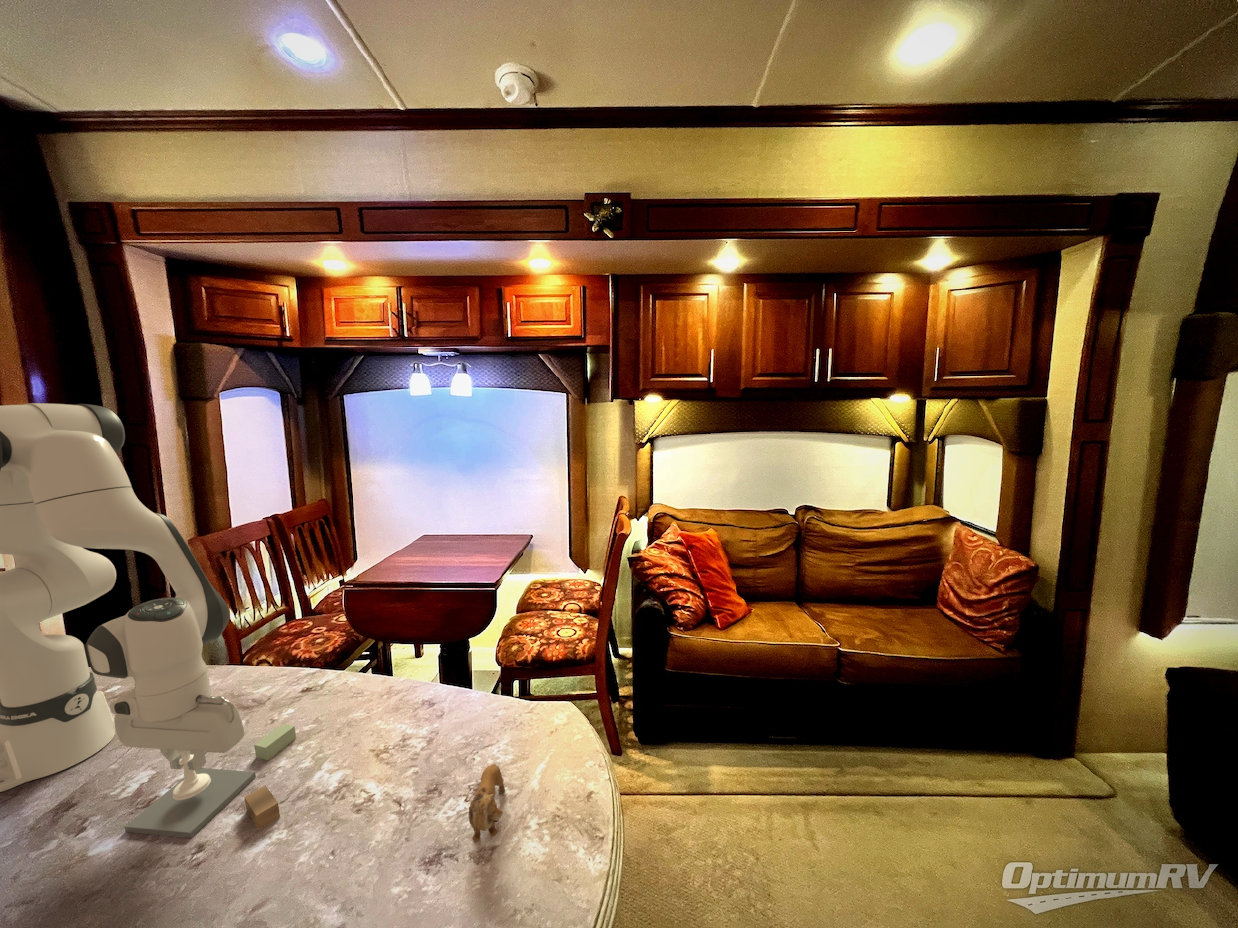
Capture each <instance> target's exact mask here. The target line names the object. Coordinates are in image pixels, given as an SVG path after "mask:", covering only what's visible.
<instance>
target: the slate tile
mask: <svg viewBox="0 0 1238 928" xmlns="http://www.w3.org/2000/svg"><path fill="white" fill-rule="evenodd" d="M195 772H196V774H202V773H204V774H208V775H209V776H210V778H211V782H210V784H209V785H208V786H207V787H206V788H205V789H204V790H203V791H202V792H200V793H198V794H197V795H195V796H193V797H190V798H188V799H184V800H175V799H174V798H173V790H174V789H175V787H176V786H177V785H178V784H179V783H181V782H182V781H183V780H184V777H183V778H182V779H181V780H180V781H178V782H177V783H176V784H175V785H173V786H172V787H171V788H170V789H169V790H168V791H166V792H165V793H164V794H163V795H161V796H160V797H158V798H157V799H156V800H155V801H154V802H153V803H151V804H150V805H149V806H148V807H146V808H145V809H144V810H143V811H141V812H140V813H139V814H138V815H136V816H135V817H134V818H133V819H132V820H131V821H129V822H128V823H127V824H126V825H124V832H125V833H132V834H133V833H134V834H135V833H136V834H143V835H144V834H146V835H153V836H154V835H156V836H166V837H176V838H177V837H178V838H186V839H187V838H189V839H193V837H194V836H195V835H196V834H197V833H198V832H200V830H201V829H203V828H204V827H205V826H206V825H207V824H208V823H209V822H210V821H211V820H213V818H214V817H215V816H216V815H218V813H219V812H220V811H222V810H223V809H224V808H225V806H227V805H228V804H229V803H230V802H231V801H232V800H233V799H234V798H235V797H236V796H237V795H238V794H239V793H240V792H241V791H242V790H243V789H245V787H247V785H249V784H250V783H251V782H252V781H253V780H254V779H255V778H256V777H257V776H256V772H255V771H247V770H245V771H244V770H233V769H221V768H220V769H219V768H210V767H209V768H207V767H202V768H201V769H199V770H198V771H195Z"/></svg>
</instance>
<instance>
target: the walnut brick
mask: <svg viewBox="0 0 1238 928" xmlns="http://www.w3.org/2000/svg"><path fill="white" fill-rule="evenodd" d="M244 802H245V803H244V804H245V810H246V812H247V814H248V816H249V818H250V820H251V821H252V822H253V824H254V826H256V829H257V830H258V831H260V830H262V829H264V828H266V827H267V826H269V825H270V824H271V823H273V822H275V821H276V820H279V818H281V814H280V807H279V802H278V800H277V799H276V798H275V796H274V795H273V794H272V792H271V791H270V789H269V788H268V786H267V785H266V784H265V785H263V786H261V787H260V788H258V789H256V790H254V791H253V792H251V793H249V794H247V795H245V796H244Z"/></svg>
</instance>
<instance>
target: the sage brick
mask: <svg viewBox="0 0 1238 928" xmlns="http://www.w3.org/2000/svg"><path fill="white" fill-rule="evenodd" d="M296 739H297V733H296V728H295V725H292V724H287V723H282V724H280V725H279V726H278V727H276V728H275V729H273V730H272V731H270V732H269V733H268V734H267V735H265V736H264V737H263V738H261V739H260V740H258V741H257V742H256V743H255V744H253V748H254V751H255V753H254V754H255V758H257V759H260V760H265V761H269V760H271V759H272V758H273V757H274V756H275V755H277V754H279V752H280V751H282V750H283V749H285V748H286V747H287V746H289V744H291V743H293V742H294V741H295V740H296Z"/></svg>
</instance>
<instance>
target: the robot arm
mask: <svg viewBox="0 0 1238 928" xmlns="http://www.w3.org/2000/svg"><path fill="white" fill-rule="evenodd" d="M125 440H126V431H125V427H124V424H123V423H122V421H121V419H120V418H119V416H118V415H117V414H116V413H114V411H112V410H111V409H109V408H107V407H105V406H101V405H95V404H86V403H78V404H65V403H47V402H46V403H44V402H43V403H35V402H32V403H31V402H30V403H29V402H28V403H24V404H9V405H8V404H7V405H0V555H11V556H12V558H13V559H14V563H15V564H14V565H15V566H14V568H12V569H11V568H10V569H9V570H5V571H2V572H0V793H1V792H2V793H3V792H5V791H7V790H11V789H12V788H15V787H17V786H19V785H22V784H25V783H28V782H30V781H33V780H37V779H40V778H45V777H48V776H52V775H54V774H56V773H58V772H62V771H63V770H66V769H68V768H71V767H73V766H74V765H77V764H79V763H81V762H82V761H84V760H86V759H88V758H89V757H92V756H94V755H95V754H96V753H98V752H99V751H100V750H102V749H103V748H104V747H106V746H107V745H108V744H109V743H110V742H112V740H113V738H115V737H114V736H115V734H117V737H118V740H119V742H120V743H121V744H122V745H123V746H124V747H127V748H140V749H141V748H144V749H154V750H155V749H157V750H160V753H161V755H162V756H163V757H164V758H165V760H167V761H168V763H169V767H170V769H171V770H181V769H184V765H179V760H180V759H181V758H182V757H181V756H180V754H178V752H177V750H184V751H190V754H191V755H193V754H194V756H193V759H191V760H190V761H188V762H187V764H188V767H189V768H188V769H189V770H195V771H198V770H199V769H201V768H204V767H205V765H206V764H207V759H206V754H207V753H215V754H226V753H228V752H229V751H230V750H232V749H233V748H234V747H236V745H238V744H239V743H240V742H241V741H242V739H243V738H244V736H245V734H246V733H245V727H244V724H243V721H242V718H241V715H240V712H239V709H238V707H237V706H236V704H234V702H232V701H229V700H227V698H226V697H224V696H222V695H221V696H219V695H218V696H213V695H211V694H212V688H211V684H210V683H211V682H210V678H209V677H210V676H209V672H208V666H207V664H206V662H205V661H204V659H203V655H202V654H203V646H204V645H206V644H208V643H211V642H214V641H216V640H217V639H219V638H220V636H221V635H222V633H223V632H224V630H226V627H227V626H228V623H229V621H230V619H231V612H230V609H229V606H228V604H227V602H226V601H225V600H224V598H223V597H222V596H221V594H220V593H219V592H218V591H217V590H216V588H214V586H213V585H212V584H211V582H210V580H209V579H208V578H207V576H206V574H205V572H204V570H203V569H202V567H201V566H200V564H199V562H198V560H197V559H196V557H195V555H194V554H193V552H192V550H191V548H190V547H189V545H188V544H187V542H186V540H185V539H184V537H183V536H182V534H181V532H180V531H179V530H178V529H177V527H176V526H175V524H174V523H173V522H172V521H171V520H170V519H169V518H168V517H167V516H166V515H165V514H162V513H157V512H153V511H152V510H150V509H149V508H148V507H146V506H145V504H143V503H142V502H141V501H140V499H138V497H137V495H136V493H135V492H134V489H133V486H132V483H131V481H130V478H129V476H128V474H127V471H126V470H125V467H124V466H123V464H122V462H121V459H120V458H119V456H118V455H117V453H118V452H120V450H121V449H122V447H124V444H125ZM88 549H96V550H97V549H98V550H100V549H101V550H103V549H104V550H126V551H127V550H128V551H130V550H131V551H136V552H140V553H143V554H146V555H148V556H149V557H151V558H152V559H153V560H155V562H156V563H157V565H158V566H159V568H160V570H161V572H162V573H163V575H164V576H165V578H166V579H167V582H168V583H169V584H170V586H171V587H172V589H173V591H174V593H175V596H174V597H162V598H157V599H151V600H148V601H145V602H142V603H139V604H138V605H136V606H134V607H132V608H131V609H129V610H128V611H127V613H126V614H125V615H123V616H119V617H116V618H114V619H111V620H109V621H107V622H105V623H102V624H101V625H98V626H97V627H96V628H95V629H94V631H93V632H92V633H91V634H90V636H89V638H88V639H87V641H86V643H85V644H84V643H83V641H81V640H80V639H78V638H77V637H75V636H73V635H67V634H44V633H43V632H42V630H41V627H40V624H41V623H42V622H43V621H46V620H48V619H52V618H54V617H56V616H59V615H61V614H64V613H67V612H69V611H72V610H75V609H77V608H81V607H82V606H85V605H87V604H90V603H91V602H93V601H95V600H96V599H98V598H100V597H101V596H104V595H105V594H107V593H108V592H109V591H111V590H112V589H113V587H114V586H115V583H116V580H117V570H116V568H115V565H114V563H112V561H111V560H110V559H109V558H108V557H106V556H104V555H102V554H100V553H99V552H94V551H90V550H88ZM40 622H41V623H40ZM90 669H91V671H92V672H93V673H92V672H91V671H90ZM94 674H95V675H97V676H103V677H108V678H114V679H126V678H132V679H134V688H133V689H131V690H129V691H128V692H125V693H124V694H123V695H121V696H120V697H117V698H116V699H115V700H113V701H111V702H110V703H109V704H108V702H107V698H106V697H105V694H104V693H103V692H104V691H101V690H98V688H97V680H96V678H95V676H94ZM112 714H113V715H112Z"/></svg>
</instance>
